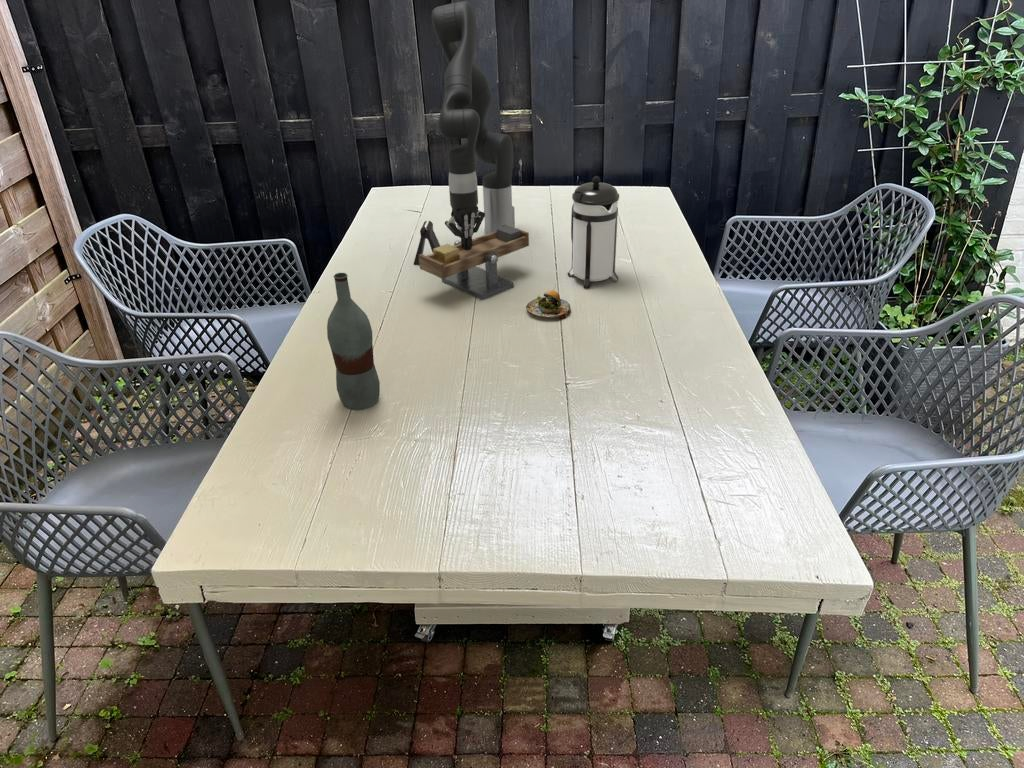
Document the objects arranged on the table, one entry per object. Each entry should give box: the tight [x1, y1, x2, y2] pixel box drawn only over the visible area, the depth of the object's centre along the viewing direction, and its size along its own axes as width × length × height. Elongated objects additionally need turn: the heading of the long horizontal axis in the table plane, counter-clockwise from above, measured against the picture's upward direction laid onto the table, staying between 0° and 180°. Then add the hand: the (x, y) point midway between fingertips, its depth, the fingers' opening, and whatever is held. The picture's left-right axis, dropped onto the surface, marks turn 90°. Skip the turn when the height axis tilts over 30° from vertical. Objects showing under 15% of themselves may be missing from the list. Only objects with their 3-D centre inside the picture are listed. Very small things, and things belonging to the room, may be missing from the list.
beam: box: [419, 224, 530, 280], centre depth 209 cm, size 32×10×4 cm, turn 133°
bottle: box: [326, 272, 381, 411], centre depth 156 cm, size 9×9×30 cm
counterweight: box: [497, 226, 522, 242], centre depth 216 cm, size 4×6×3 cm, turn 43°
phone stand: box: [413, 220, 441, 266], centre depth 227 cm, size 9×6×12 cm, turn 86°
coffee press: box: [567, 175, 620, 290], centre depth 209 cm, size 17×16×30 cm
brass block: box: [432, 243, 460, 266], centre depth 202 cm, size 5×5×4 cm
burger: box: [525, 284, 572, 321], centre depth 197 cm, size 12×12×8 cm
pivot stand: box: [441, 240, 515, 301], centre depth 212 cm, size 12×18×11 cm, turn 43°
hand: (467, 249), depth 207 cm, fingers closed
